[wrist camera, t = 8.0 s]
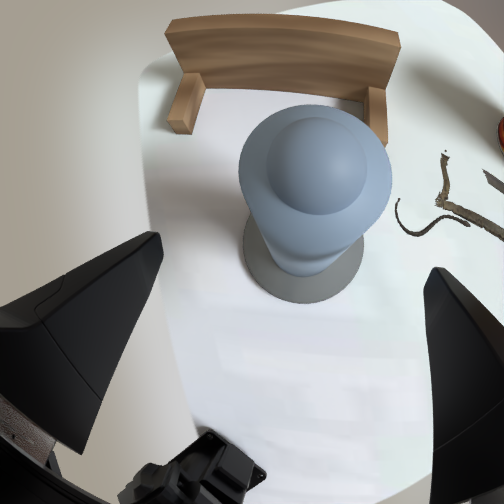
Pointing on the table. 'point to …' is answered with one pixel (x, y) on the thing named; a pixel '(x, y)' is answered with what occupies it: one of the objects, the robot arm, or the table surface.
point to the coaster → (292, 286)
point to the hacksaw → (460, 207)
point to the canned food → (501, 134)
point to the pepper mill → (313, 184)
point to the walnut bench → (282, 61)
